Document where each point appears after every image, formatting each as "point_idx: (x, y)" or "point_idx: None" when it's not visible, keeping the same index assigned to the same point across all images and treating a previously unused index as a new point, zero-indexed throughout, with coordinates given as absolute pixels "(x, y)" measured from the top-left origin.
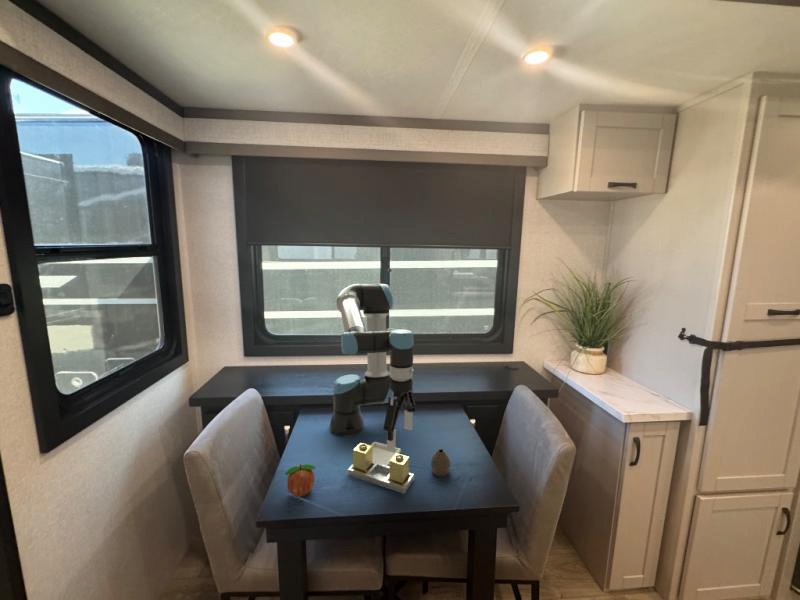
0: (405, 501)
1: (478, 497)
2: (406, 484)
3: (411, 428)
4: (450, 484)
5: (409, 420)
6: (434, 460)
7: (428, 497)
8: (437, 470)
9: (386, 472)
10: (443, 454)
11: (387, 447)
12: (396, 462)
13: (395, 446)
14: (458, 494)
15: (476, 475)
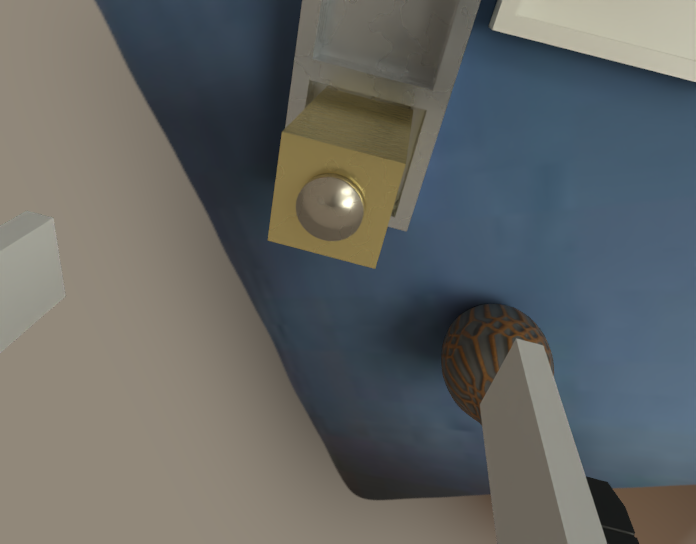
0: (249, 192)
1: (360, 435)
2: None
3: (482, 424)
4: (414, 362)
5: (508, 499)
6: (470, 361)
7: (308, 284)
8: (443, 345)
9: (447, 34)
10: None
11: (23, 221)
12: (279, 189)
13: (45, 312)
14: (358, 383)
15: None
